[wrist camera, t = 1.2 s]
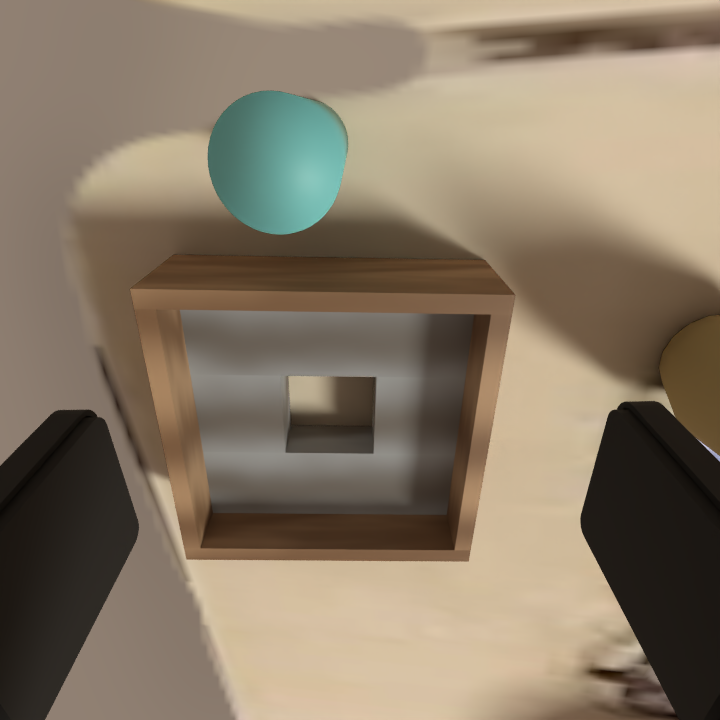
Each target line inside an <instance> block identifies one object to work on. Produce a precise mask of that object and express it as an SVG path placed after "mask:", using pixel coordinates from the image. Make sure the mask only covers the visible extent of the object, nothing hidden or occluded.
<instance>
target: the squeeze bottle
mask: <svg viewBox="0 0 720 720" xmlns="http://www.w3.org/2000/svg"><path fill="white" fill-rule="evenodd" d="M659 371H660V375H661V380H662V383H663V386H664V388H665V391H666V394H667V396H668V399H669V401H670V404H671V407H672V409H673V412H674V415H675V417H676V419H677V420H678V421H679V422H680V423H681V424H682V425H683V426H684V427H685V428H686V429H687V430H688V431H689V432H690V433H691V434H692V435H693V436H694V437H695V438H697V439H698V440H699V441H701V442H702V443H703V444H705V445H706V446H707V447H709V448H710V449H711V450H713V451H714V452H715V453H717V454H718V455H719V456H720V315H714V316H708V317H705V318H703V319H700V320H698V321H695V322H692V323H690V324H689V325H688V326H686V327H685V328H684V329H682V330H681V331H680V332H678V333H677V334H676V335H675V336H674V337H673V338H672V339H671V341H670V342H669V344H668V345H667V346H666V348H665V349H664V351H663V353H662V357H661V361H660V365H659Z"/></svg>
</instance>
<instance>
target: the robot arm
mask: <svg viewBox="0 0 720 720" xmlns="http://www.w3.org/2000/svg"><path fill="white" fill-rule="evenodd" d="M581 529H582V533H583V535H584V537H585V539H586V541H587V543H588V545H589V547H590V549H591V551H592V553H593V555H594V557H595V558H596V560H597V562H598V564H599V566H600V568H601V570H602V572H603V574H604V576H605V578H606V580H607V582H608V584H609V585H610V587H611V589H612V591H613V593H614V595H615V597H616V599H617V601H618V603H619V605H620V607H621V609H622V611H623V612H624V614H625V616H626V618H627V620H628V622H629V624H630V626H631V628H632V630H633V632H634V634H635V636H636V638H637V639H638V641H639V643H640V645H641V647H642V649H643V651H644V653H645V655H646V657H647V659H648V661H649V663H650V665H651V666H652V668H653V670H654V672H655V674H656V676H657V678H658V680H659V682H660V684H661V686H662V688H663V690H664V692H665V693H666V695H667V697H668V699H669V701H670V703H671V705H672V707H673V709H674V711H675V713H676V715H677V717H678V718H679V720H720V462H719V461H718V460H717V459H716V458H715V457H714V456H713V455H712V454H711V453H710V452H709V451H708V450H707V449H706V448H705V447H704V446H703V445H702V444H701V443H700V442H699V441H698V440H697V439H696V438H695V437H694V436H693V435H692V434H691V433H690V432H689V431H688V430H687V429H686V428H685V427H684V426H683V425H682V424H681V423H680V422H679V421H678V420H677V419H676V418H675V417H674V416H673V415H672V414H671V413H670V412H669V411H668V410H667V409H666V408H665V407H664V406H663V405H662V404H660V403H659V402H655V401H640V402H623V403H621V404H620V405H619V406H618V408H617V410H612V411H611V412H610V413H609V415H608V418H607V422H606V425H605V429H604V433H603V436H602V440H601V444H600V447H599V451H598V454H597V458H596V462H595V465H594V469H593V473H592V476H591V480H590V484H589V487H588V491H587V495H586V498H585V502H584V506H583V509H582V513H581ZM138 530H139V524H138V519H137V516H136V513H135V510H134V507H133V504H132V501H131V498H130V495H129V491H128V489H127V485H126V482H125V479H124V476H123V473H122V470H121V467H120V464H119V461H118V457H117V454H116V451H115V448H114V445H113V442H112V439H111V436H110V433H109V430H108V427H107V424H106V422H105V420H104V419H102V418H100V417H97V415H96V414H95V413H94V412H93V411H91V410H58V411H55V412H54V413H53V414H51V415H50V416H49V417H48V418H47V419H46V420H45V421H44V422H43V423H42V424H41V425H40V426H39V427H38V428H37V429H36V430H35V432H33V433H32V434H31V435H30V436H29V437H28V438H27V439H26V440H25V441H24V442H23V443H22V444H21V445H20V446H19V447H18V448H17V450H15V452H14V453H12V455H11V456H10V457H9V458H8V459H7V460H6V461H5V462H4V463H3V464H2V465H1V466H0V720H45V719H46V717H47V714H48V713H49V711H50V709H51V707H52V705H53V703H54V701H55V699H56V697H57V695H58V693H59V691H60V689H61V687H62V685H63V683H64V681H65V679H66V677H67V676H68V674H69V672H70V670H71V668H72V666H73V664H74V662H75V659H76V658H77V656H78V654H79V652H80V650H81V648H82V646H83V644H84V642H85V640H86V638H87V636H88V634H89V632H90V630H91V628H92V626H93V625H94V623H95V621H96V619H97V617H98V615H99V613H100V610H101V609H102V607H103V605H104V603H105V601H106V599H107V597H108V595H109V593H110V591H111V589H112V587H113V585H114V583H115V581H116V579H117V577H118V575H119V574H120V572H121V569H122V567H123V566H124V564H125V562H126V560H127V558H128V556H129V554H130V552H131V550H132V548H133V546H134V544H135V542H136V540H137V536H138Z"/></svg>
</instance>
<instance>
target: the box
mask: <svg viewBox="0 0 720 720" xmlns="http://www.w3.org/2000/svg"><path fill="white" fill-rule="evenodd" d="M130 292H131V296H132V301H133V306H134V311H135V316H136V320H137V325H138V330H139V335H140V339H141V344H142V349H143V354H144V359H145V363H146V368H147V373H148V378H149V382H150V387H151V392H152V397H153V401H154V406H155V411H156V416H157V421H158V425H159V430H160V435H161V440H162V444H163V449H164V454H165V459H166V463H167V468H168V473H169V478H170V483H171V487H172V492H173V497H174V502H175V506H176V511H177V516H178V521H179V525H180V530H181V535H182V540H183V545H184V549H185V554H186V559H197V560H336V561H469V556H470V550H471V544H472V539H473V533H474V527H475V522H476V516H477V510H478V505H479V499H480V493H481V488H482V482H483V476H484V471H485V465H486V459H487V453H488V448H489V442H490V436H491V431H492V425H493V419H494V414H495V408H496V402H497V397H498V391H499V385H500V380H501V374H502V368H503V363H504V357H505V351H506V346H507V340H508V334H509V329H510V323H511V317H512V312H513V306H514V300H515V294H514V293H513V292H512V291H511V289H510V288H509V287H508V286H507V285H506V284H505V282H504V281H503V280H502V279H501V278H500V277H499V276H498V274H497V273H496V272H495V271H494V270H493V269H492V267H491V266H490V265H489V264H488V263H487V262H486V261H485V260H454V259H395V258H336V257H277V256H217V255H173V256H171V257H170V258H169V259H167V260H166V261H165V262H164V263H162V264H161V265H160V266H159V267H157V268H156V269H155V270H153V271H152V272H151V273H150V274H148V275H147V276H146V277H145V278H143V279H142V280H141V281H139V282H138V283H137V284H136V285H134V286H133V287H132V288H130ZM288 376H339V377H374V390H373V417H372V426H301V425H291V416H290V398H289V381H288Z"/></svg>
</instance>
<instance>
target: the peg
mask: <svg viewBox="0 0 720 720" xmlns="http://www.w3.org/2000/svg"><path fill="white" fill-rule="evenodd" d="M347 151H348V137H347V132H346V129H345V126H344V124H343V122H342V120H341V118H340V117H339V116H338V114H337V113H336V112H335V111H334V110H333V109H332V108H330V107H329V106H327V105H326V104H324V103H321V102H319V101H315V100H311V99H307V98H304V97H300V96H296V95H292V94H288V93H284V92H280V91H260V92H255V93H251V94H249V95H246V96H243V97H242V98H240V99H238V100H236V101H235V102H234V103H233V104H231V105H230V106H229V107H228V108H227V109H226V110H225V111H224V112H223V113H222V115H221V116H220V117H219V119H218V120H217V122H216V124H215V126H214V128H213V131H212V134H211V137H210V141H209V146H208V167H209V173H210V177H211V180H212V184H213V186H214V188H215V191H216V193H217V195H218V196H219V198H220V200H221V201H222V203H223V204H224V205H225V207H226V208H227V209H228V210H229V211H230V212H231V213H232V214H233V215H234V216H235V217H236V218H237V219H238V220H240V221H241V222H243V223H244V224H246V225H247V226H249V227H251V228H253V229H256V230H258V231H261V232H265V233H270V234H291V233H296V232H299V231H302V230H304V229H306V228H308V227H310V226H312V225H313V224H315V223H316V222H318V221H319V220H320V219H321V218H322V217H323V216H324V215H325V214H326V213H327V212H328V210H329V209H330V207H331V206H332V204H333V203H334V201H335V199H336V196H337V194H338V191H339V188H340V184H341V179H342V175H343V170H344V165H345V161H346V156H347Z"/></svg>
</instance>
